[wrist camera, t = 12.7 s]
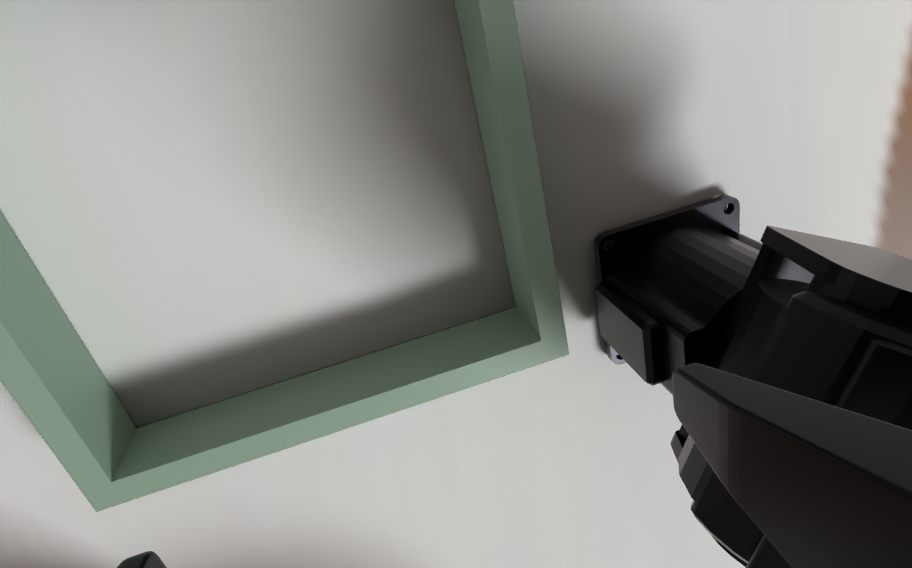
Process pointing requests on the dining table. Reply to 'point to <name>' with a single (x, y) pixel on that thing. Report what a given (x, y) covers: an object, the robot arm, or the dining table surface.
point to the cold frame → (320, 392)
